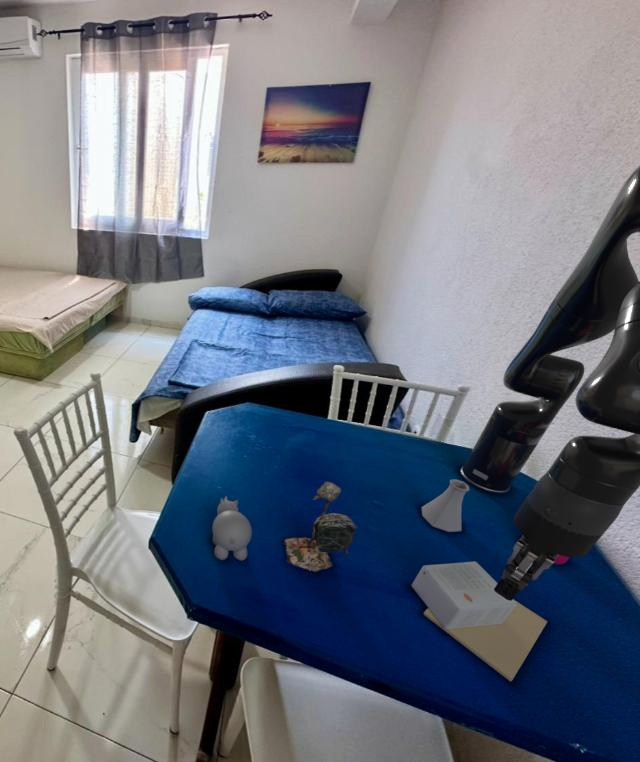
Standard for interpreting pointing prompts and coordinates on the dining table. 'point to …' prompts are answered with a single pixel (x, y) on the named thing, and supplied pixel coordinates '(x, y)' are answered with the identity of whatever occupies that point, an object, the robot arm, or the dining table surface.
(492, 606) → the small box
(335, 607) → the dining table surface
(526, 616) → the mat
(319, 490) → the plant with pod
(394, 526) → the dining table surface
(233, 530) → the round bodied animal figurine
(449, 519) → the flask
